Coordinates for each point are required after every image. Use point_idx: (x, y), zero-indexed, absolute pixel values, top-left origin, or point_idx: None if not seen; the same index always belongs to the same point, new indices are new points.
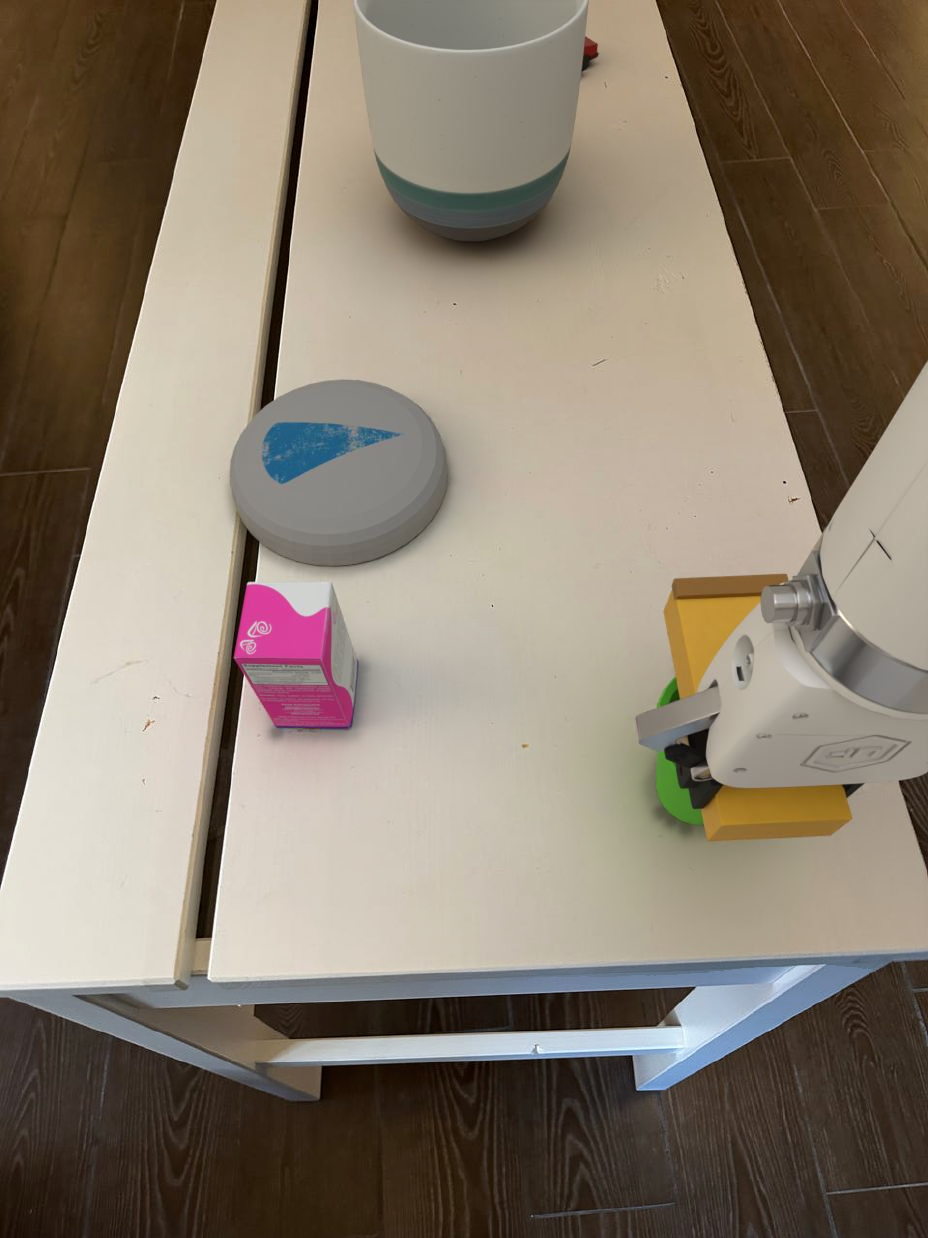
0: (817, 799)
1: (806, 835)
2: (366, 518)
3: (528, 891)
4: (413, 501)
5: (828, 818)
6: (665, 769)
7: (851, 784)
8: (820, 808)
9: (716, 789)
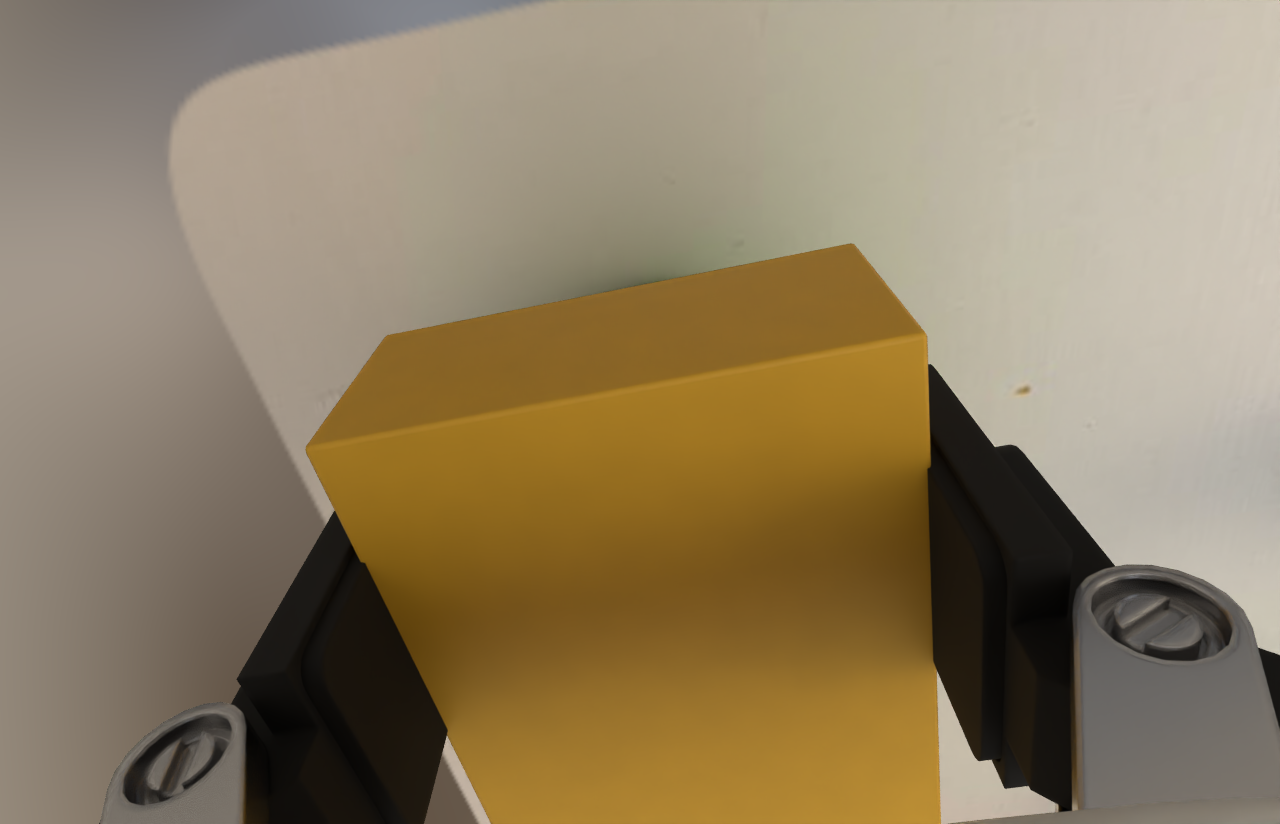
0: (468, 506)
1: (475, 325)
2: None
3: (1059, 61)
4: None
5: (412, 437)
6: None
7: (329, 598)
8: (452, 472)
9: (998, 517)
